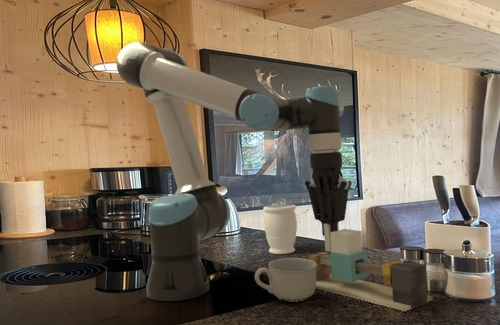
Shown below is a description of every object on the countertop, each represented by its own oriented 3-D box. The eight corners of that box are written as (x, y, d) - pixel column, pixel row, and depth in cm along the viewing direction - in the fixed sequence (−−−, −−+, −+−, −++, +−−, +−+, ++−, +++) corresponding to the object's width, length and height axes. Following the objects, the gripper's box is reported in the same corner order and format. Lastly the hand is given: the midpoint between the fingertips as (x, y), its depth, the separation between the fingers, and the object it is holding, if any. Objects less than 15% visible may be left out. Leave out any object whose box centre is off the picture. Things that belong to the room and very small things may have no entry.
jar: (298, 247, 158) (295, 203, 158) (298, 254, 148) (295, 207, 148) (266, 249, 159) (264, 204, 159) (264, 255, 149) (262, 208, 149)
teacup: (314, 289, 110) (312, 256, 110) (322, 304, 100) (320, 267, 99) (254, 293, 110) (252, 259, 110) (257, 309, 99) (254, 271, 99)
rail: (404, 313, 91) (402, 272, 91) (303, 286, 113) (301, 253, 113) (432, 301, 98) (430, 262, 97) (331, 277, 120) (329, 246, 119)
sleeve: (351, 282, 104) (349, 235, 104) (331, 277, 109) (328, 232, 109) (368, 276, 108) (366, 231, 108) (348, 272, 112) (345, 228, 112)
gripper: (357, 149, 109) (363, 250, 110) (316, 152, 119) (321, 244, 120) (335, 151, 105) (342, 256, 105) (295, 153, 115) (300, 249, 115)
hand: (331, 250), depth 112 cm, fingers closed
